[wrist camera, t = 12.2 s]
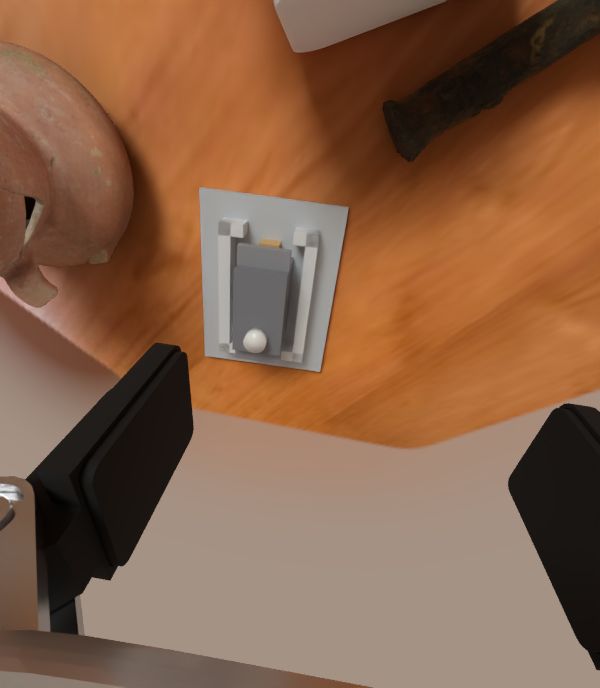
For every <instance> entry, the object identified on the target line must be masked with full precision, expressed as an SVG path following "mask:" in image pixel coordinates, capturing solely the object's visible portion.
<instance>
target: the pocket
mask: <svg viewBox="0 0 600 688" xmlns="http://www.w3.org/2000/svg"><path fill="white" fill-rule="evenodd" d="M199 194H200V223H201V253H202V283H203V312H204V342H205V356H210V357H217V358H224V359H231V360H238V361H245V362H253V363H260V364H267V365H274V366H281V367H289V368H296V369H303V370H310V371H317V372H320V370H321V364H322V358H323V353H324V347H325V341H326V336H327V330H328V324H329V318H330V313H331V307H332V301H333V296H334V290H335V284H336V278H337V273H338V267H339V261H340V256H341V250H342V244H343V239H344V233H345V227H346V221H347V216H348V210H349V207H347V206H340V205H332V204H325V203H317V202H310V201H303V200H295V199H288V198H280V197H273V196H265V195H258V194H250V193H243V192H235V191H228V190H220V189H213V188H205V187H200V188H199ZM262 239H269V240H276V241H281V248H283V249H290V250H292V254H291V257H294V260H293V270H292V279H291V289H290V298H289V307H288V317H287V326H286V332H285V336H284V340H283V344H282V352H281V360H280V364H274V363H267V362H260V361H253V360H246V359H239V358H235V350H232V340H233V276H234V268H235V267H236V265H237V245H238V244H239V243H246V244H254V245H259V243H260V241H261V240H262Z"/></svg>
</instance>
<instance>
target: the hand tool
mask: <svg viewBox="0 0 600 688" xmlns="http://www.w3.org/2000/svg"><path fill="white" fill-rule="evenodd" d="M598 34H600V0H558V1H556V2H555V3H553V4H551V5H550V6H548V7H546V8H545V9H543V10H541V11H540V12H538V13H536V14H535V15H533V16H532V17H530V18H528V19H527V20H525V21H524V22H522V23H521V24H519V25H518V26H516V27H514V28H513V29H511V30H510V31H508V32H506V33H505V34H503V35H502V36H500V37H499V38H497V39H496V40H494V41H493V42H491V43H489V44H488V45H486V46H485V47H483V48H482V49H480V50H479V51H477V52H476V53H474V54H472V55H471V56H469V57H468V58H466V59H464V60H462V61H460V62H459V63H457V64H456V65H455V66H453V67H452V68H451V69H449V70H447V71H446V72H444V73H443V74H441V75H440V76H438V77H436V78H435V79H433V80H431V81H429V82H428V83H426V84H425V85H424V86H423V87H421V88H420V89H419V90H417V91H416V92H415V93H413V94H412V95H410V96H409V97H407V98H405V99H404V100H402V101H400V102H395V101H390V100H389V101H386V102H385V103H383V108H382V109H383V111H384V116H385V120H386V123H387V126H388V130H389V132H390V135H391V138H392V140H393V143H394V145H395V147H396V150H397V152H398V153H400V154H401V156H402V157H403V158H404V159H406V160H407V161H408V162H412V161H413V160H414V159H415V158H416V157H417V155H418V154H419V153H420V151H421V150H422V149H424V148H425V146H426V145H427V144H428V143H429V142H430V141H431V140H432V139H433V138H434V137H436V136H437V135H439V134H441V133H443V132H445V131H446V130H448V129H449V128H451V127H453V126H455V125H457V124H459V123H462V122H463V121H465V120H466V119H468V118H470V117H474V116H476V115H478V114H479V113H480V112H481V111H483V110H486V109H490V108H494V107H495V106H496V105H498V104H499V103H500V102H501V101H502V99H503V97H504V96H505V95H506V94H507V93H508V92H509V91H510V90H512V89H513V88H514V87H516V86H517V85H519V84H520V83H522V82H524V81H525V80H527V79H528V78H530V77H532V76H533V75H535V74H537V73H538V72H540V71H542V70H543V69H545V68H546V67H548V66H549V65H551V64H552V63H554V62H555V61H557V60H558V59H560V58H561V57H563V56H564V55H566V54H567V53H569V52H570V51H572V50H573V49H575V48H576V47H578V46H580V45H581V44H583V43H584V42H586V41H588V40H589V39H591V38H593V37H594V36H596V35H598Z"/></svg>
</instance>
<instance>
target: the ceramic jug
mask: <svg viewBox="0 0 600 688" xmlns="http://www.w3.org/2000/svg"><path fill="white" fill-rule="evenodd" d="M133 201H134V186H133V176H132V171H131V166H130V162H129V158H128V155H127V152H126V149H125V147H124V144H123V142H122V139H121V137H120V135H119V133H118V131H117V129H116V127H115V125H114V124H113V122H112V120H111V119H110V117H109V116H108V114H107V113H106V111H105V110H104V109H103V107H102V106H101V105H100V104H99V102H98V101H97V100H96V99H95V98H94V96H93V95H92V94H91V93H90V92H89V91H88V90H87V89H86V88H85V87H84V86H83V85H82V84H81V83H80V82H79V81H78V80H77V79H76V78H75V77H73V76H72V75H71V74H70V73H68V72H67V71H66V70H65V69H63V68H62V67H61V66H59V65H58V64H56V63H55V62H53V61H51V60H50V59H48V58H46V57H45V56H43V55H41V54H39V53H36V52H34V51H32V50H30V49H28V48H25V47H22V46H19V45H15V44H11V43H6V42H0V276H1V277H3V278H4V279H5V281H6V282H7V284H8V285H9V287H10V289H11V290H12V291H13V293H14V294H15V295H16V296H17V297H18V298H20V299H21V300H23V301H24V302H25V303H27V304H29V305H31V306H33V307H42V306H44V305H46V304H47V303H48V302H49V301H50V300H51V299H53V298H54V297H56V295H57V293H58V289H57V287H55V286H54V285H52V284H51V283H50V282H49V281H48V280H47V279H46V278H45V277H44V276H43V274H42V272H41V271H40V269H39V265H45V266H53V267H70V266H78V265H82V264H85V263H90V264H97V263H105V262H107V261H109V260H110V259H111V257H112V254H113V251H114V249H115V247H116V245H117V243H118V242H119V240H120V239H121V237H122V236H123V234H124V232H125V230H126V228H127V226H128V223H129V220H130V217H131V213H132V208H133ZM38 264H39V265H38Z"/></svg>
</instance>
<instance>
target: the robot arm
mask: <svg viewBox="0 0 600 688" xmlns="http://www.w3.org/2000/svg"><path fill="white" fill-rule="evenodd" d="M192 434H193V416H192V404H191V393H190V382H189V371H188V360H187V354H186V353H185V352H181V349H180V347H179V346H176V345H170V344H163V343H155V344H153V345H152V346H151V347H150V349H149V350H148V351H147V352H146V353H145V354H144V355H143V356H142V357H141V358H140V359H139V360H138V361H137V363H136V364H135V365H134V366H133V367H132V368H131V369H130V370H129V371H128V372H127V373H126V374H125V375H124V377H123V378H122V379H121V380H120V381H119V382H118V383H117V384H116V385H115V386H114V388H112V389H111V390H110V391H108V392H107V393H106V394H105V395H104V396H103V397H102V398H101V399H100V400H99V401H98V403H97V404H96V405H95V406H94V407H93V408H92V409H91V410H90V411H89V412H88V413H87V414H86V415H85V416H84V418H83V419H82V420H81V421H80V422H79V423H78V424H77V425H76V426H75V427H74V428H73V429H72V431H70V433H69V434H68V435H67V436H66V437H65V438H64V439H63V440H62V441H61V442H60V443H59V444H58V445H57V446H56V447H55V449H54V450H53V451H52V452H51V453H50V454H49V455H48V456H47V457H46V458H45V459H44V460H43V461H42V462H41V464H40V465H39V466H38V467H37V468H36V469H35V470H34V471H33V472H32V473H31V474H30V475H29V476H28V477H27V478H26V479H22V478H17V477H14V476H13V477H12V476H9V477H0V688H372V687H367V686H361V685H356V684H351V683H346V682H340V681H335V680H330V679H325V678H319V677H314V676H309V675H303V674H298V673H293V672H287V671H282V670H276V669H271V668H265V667H260V666H255V665H250V664H244V663H239V662H234V661H228V660H223V659H217V658H212V657H206V656H201V655H196V654H190V653H185V652H179V651H174V650H168V649H162V648H156V647H150V646H144V645H138V644H132V643H126V642H120V641H114V640H108V639H101V638H95V637H89V636H85V634H84V626H83V617H82V609H81V600H80V594H82V593H83V591H84V590H85V588H86V586H87V584H88V583H89V581H90V579H91V578H92V577H94V578H100V579H105V580H111V578H112V576H113V574H114V573H115V571H116V569H117V567H118V566H124V565H125V564H126V563H127V561H128V560H129V558H130V556H131V555H132V553H133V551H134V549H135V547H136V545H137V543H138V541H139V539H140V537H141V535H142V533H143V531H144V529H145V528H146V526H147V524H148V522H149V520H150V518H151V516H152V514H153V512H154V510H155V508H156V506H157V504H158V502H159V500H160V498H161V496H162V494H163V492H164V491H165V489H166V487H167V485H168V483H169V481H170V479H171V477H172V475H173V473H174V471H175V469H176V467H177V465H178V463H179V461H180V459H181V458H182V456H183V453H184V452H185V450H186V448H187V446H188V444H189V442H190V440H191V437H192ZM508 487H509V491H510V494H511V496H512V498H513V500H514V502H515V505H516V507H517V509H518V511H519V513H520V515H521V518H522V520H523V522H524V524H525V526H526V528H527V531H528V533H529V535H530V537H531V539H532V542H533V543H534V546H535V548H536V550H537V553H538V555H539V557H540V559H541V561H542V564H543V566H544V568H545V570H546V572H547V574H548V576H549V579H550V581H551V583H552V585H553V588H554V590H555V592H556V594H557V596H558V598H559V601H560V603H561V605H562V607H563V609H564V612H565V614H566V616H567V618H568V620H569V623H570V624H571V627H572V629H573V631H574V633H575V636H576V638H577V639H578V641H579V643H580V644H581V645H582V646H583V647H584V648H585V649H586V650H588V652H589V655H590V657H591V659H592V661H593V663H594V665H595V667H596V669H597V670H600V412H599V411H598V410H597V409H595V408H593V407H588V406H582V405H575V404H563V405H562V406H560V407H559V408H556V409H554V410H553V411H552V412H551V414H550V415H549V417H548V418H547V420H546V421H545V423H544V425H543V426H542V428H541V429H540V431H539V432H538V434H537V435H536V437H535V439H534V440H533V441H532V443H531V445H530V446H529V448H528V449H527V451H526V453H525V454H524V455H523V457H522V458H521V460H520V461H519V463H518V465H517V466H516V468H515V469H514V471H513V472H512V474H511V476H510V477H509V481H508Z"/></svg>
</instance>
